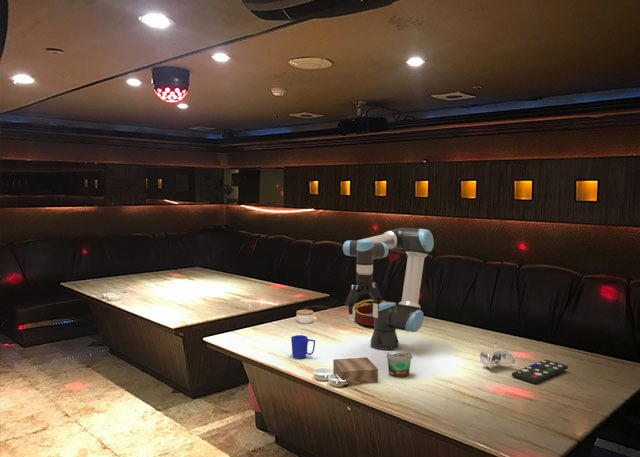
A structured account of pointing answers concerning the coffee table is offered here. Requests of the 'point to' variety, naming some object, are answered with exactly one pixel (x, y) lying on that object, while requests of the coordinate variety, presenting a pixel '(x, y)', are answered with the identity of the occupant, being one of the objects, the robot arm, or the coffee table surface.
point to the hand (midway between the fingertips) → (363, 319)
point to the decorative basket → (365, 313)
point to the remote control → (539, 371)
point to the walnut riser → (356, 370)
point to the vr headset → (497, 357)
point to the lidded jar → (305, 316)
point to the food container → (399, 364)
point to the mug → (300, 346)
